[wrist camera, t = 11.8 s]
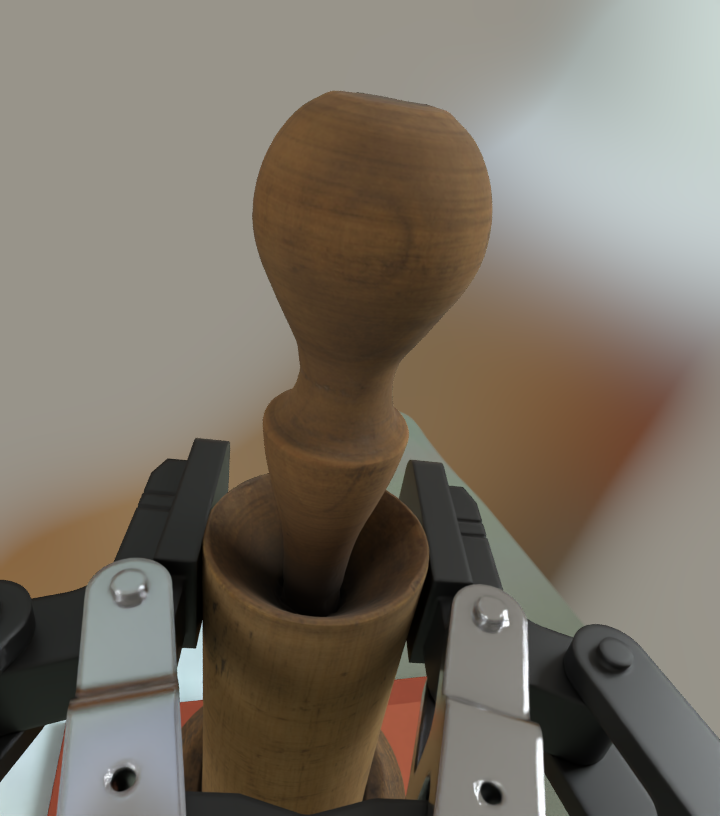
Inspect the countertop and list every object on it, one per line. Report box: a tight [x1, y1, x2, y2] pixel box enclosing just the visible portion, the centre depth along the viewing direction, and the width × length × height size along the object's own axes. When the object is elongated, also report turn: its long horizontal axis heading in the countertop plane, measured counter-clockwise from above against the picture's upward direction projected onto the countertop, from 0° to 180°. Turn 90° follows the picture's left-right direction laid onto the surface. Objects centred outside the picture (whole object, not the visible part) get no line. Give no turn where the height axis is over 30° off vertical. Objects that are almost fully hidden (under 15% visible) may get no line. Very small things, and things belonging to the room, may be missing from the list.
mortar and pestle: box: [181, 91, 492, 815], centre depth 12 cm, size 7×6×18 cm
